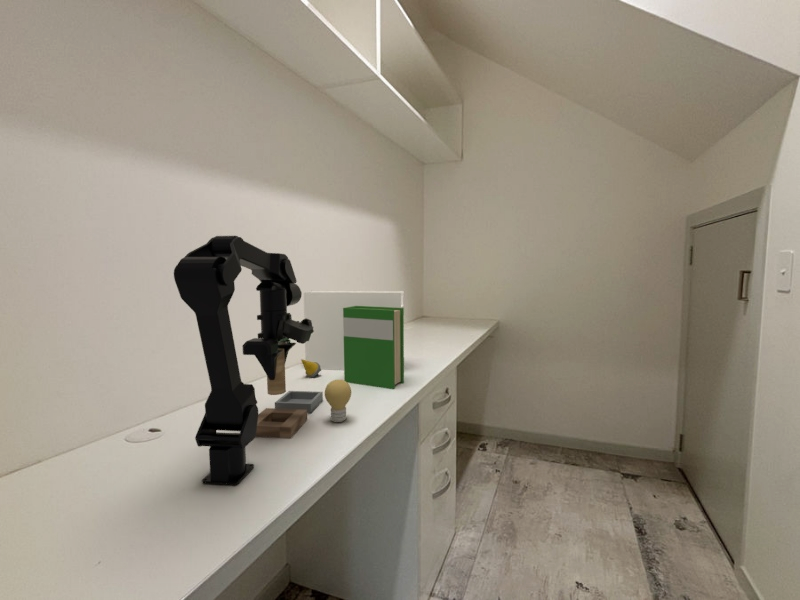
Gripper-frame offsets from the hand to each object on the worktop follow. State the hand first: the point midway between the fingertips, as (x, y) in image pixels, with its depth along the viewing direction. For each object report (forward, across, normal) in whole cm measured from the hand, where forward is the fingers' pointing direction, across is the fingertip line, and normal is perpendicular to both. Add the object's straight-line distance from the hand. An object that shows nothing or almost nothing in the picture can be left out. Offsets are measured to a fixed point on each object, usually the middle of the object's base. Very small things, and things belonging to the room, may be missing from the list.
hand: (276, 377), depth 91 cm
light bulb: (+12, +6, -13) cm, 19 cm away
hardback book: (+12, +37, -16) cm, 42 cm away
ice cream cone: (+12, +41, +6) cm, 43 cm away
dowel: (+4, 0, 0) cm, 4 cm away
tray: (+12, +14, 0) cm, 18 cm away
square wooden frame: (+12, 0, 0) cm, 12 cm away
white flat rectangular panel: (+12, +54, -6) cm, 56 cm away
